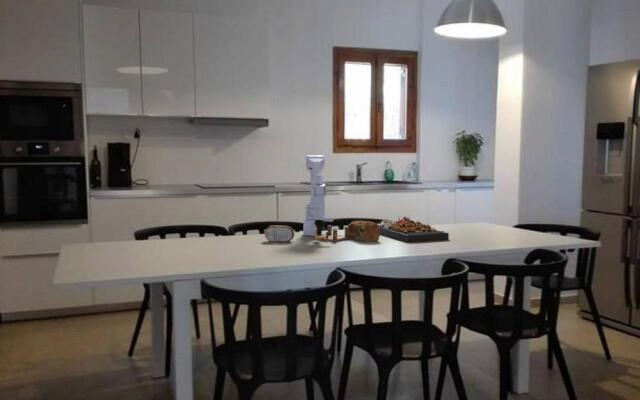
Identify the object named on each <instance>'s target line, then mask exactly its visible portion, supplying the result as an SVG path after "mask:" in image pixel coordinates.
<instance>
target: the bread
mask: <svg viewBox="0 0 640 400" xmlns="http://www.w3.org/2000/svg"><path fill="white" fill-rule="evenodd" d="M376 223H377V222H375V221H374V222H373V221H366V220H365V221H364V220H354V221H352V222H351V223H348V225H347V227H349V236H351V239H352V240H355V241H358V242H363V243H370V242H372V243H373V242H374V243H375V242H378V241H379V240H380V236H381V235H380V229H379V226H378V225H377V224H376Z"/></svg>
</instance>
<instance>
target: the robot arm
mask: <svg viewBox="0 0 640 400" xmlns="http://www.w3.org/2000/svg"><path fill="white" fill-rule="evenodd" d="M325 163H326V161H325V155H323V154H322V155H308V154H307V155H306V156H305V169H306V171H307V172H309V174H310V175H309V176H310V201H309V202H307V203H306V204H305V214H304V215H305V219H304V220H303V230H302V231H303V234H302V236H312V237H315V229H317V235H325V233H323V231H322V230H323V229H322V228H323V226H324V225H325V222H329V223H330V222H331V223H332V222H334V217H328V216H326V213H325V212H326V209H325V207H326V206H325V205H326V203H325V201H326V200H325V199H326V196H327V195H326V194H327V187H326V184H325V182H324V176H323V175H322V172H321V171H323V170H324V168H325V167H324V166H325Z"/></svg>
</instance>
